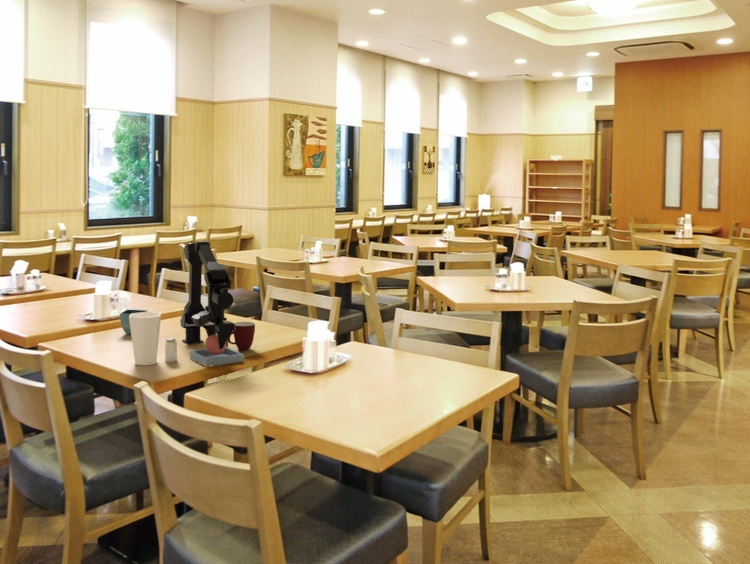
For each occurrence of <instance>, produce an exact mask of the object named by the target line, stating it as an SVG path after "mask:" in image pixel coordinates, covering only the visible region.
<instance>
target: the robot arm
mask: <svg viewBox="0 0 750 564" xmlns="http://www.w3.org/2000/svg"><path fill="white" fill-rule="evenodd" d="M183 253H184V257H185V259H186V261H187V263H188V265H189V267H188V269H189V270H188V272H189V274H188V275H189V277H188V301H187V303H186V304H185V305H184V307H183V313H182V315H181V318H180V322H179V323H180V327H181V328H183V329H185V339H182V340H181V341H182V342H183V343H186V344H187V345H190V344H191V345H193V344H200V343H205V341H204V340H203V339H201V328H203V329H204V330H205V332H206V336H207V338H208V337H209V336H210V335H215V333H216V335H218V342H219V348H220V349H222V348H223V347H224V345H225V343H226V341H227V339H228V337H229V335H230V333H231V332H232V331H235V330H236V325H235V324H234V323H235V322H233V321H230V320H227V317H225V310H228V309H229V308H231V307H232V306H233V303H234V296H233V295H232V294H231V292H229V289H230V290H231V287H232V282H231V279H230V275H229V273H228V271H227V270H226V268H225V267H224V265H223V264H220V263H218V260H217V259H216V257H215V255H214V252H213V251H212V249H211V242H210V241H208V240H197V241H195V242H188V243H187V244H186V245H184V247H183ZM203 267H204V270H205V271H204V274H203V277H202V273H203V272H202V269H203ZM202 278H204V282H205V285H206V287H207V305H205V307H204V305H203V304H202Z"/></svg>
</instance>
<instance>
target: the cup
mask: <svg viewBox="0 0 750 564" xmlns="http://www.w3.org/2000/svg"><path fill="white" fill-rule="evenodd" d="M161 317H162V313H161V312H155V311H154V312H153V311H148V312H140V313H132V314H130V316H129V322H130V329H131V334H130V335H131V336H130V337H131V342H132V350H133V356H134V363H135V365H136V366H150V365H155V364H157V360H158V351H159V340H160V330H161V320H162V319H161Z"/></svg>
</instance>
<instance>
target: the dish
mask: <svg viewBox="0 0 750 564" xmlns="http://www.w3.org/2000/svg"><path fill="white" fill-rule="evenodd" d="M191 358H192V359H191ZM189 359H191V360H193V359H194V360H196V361H198V362H200V363H202V364H204V365H206V366H210V365H217V366H222V365H228V364H236V363H242V362H244V354H243V353H241V352H240V351H237V350H234V349H232V348H230V347H229V346H228V347H226V348H225V350H224V352H223V353H221V354H219V355H213V354H210V353H209V352H208V350H207V348H202V349H201V348H200V349H194V350H189ZM194 360H193V361H194ZM196 361H195V362H196ZM198 362H197V363H198ZM200 363H199V364H200ZM202 364H201V365H202ZM204 365H203V366H204ZM206 366H205V367H206ZM210 367H211V366H210Z"/></svg>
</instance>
